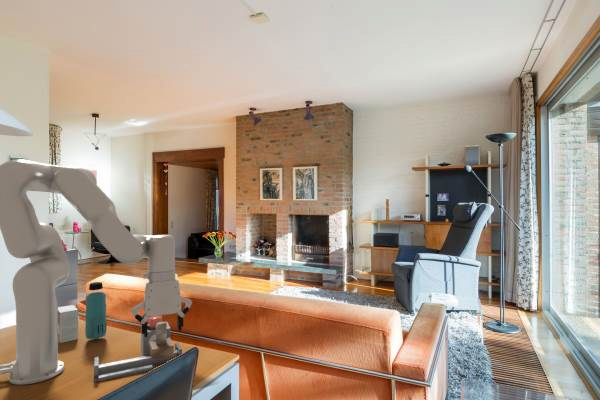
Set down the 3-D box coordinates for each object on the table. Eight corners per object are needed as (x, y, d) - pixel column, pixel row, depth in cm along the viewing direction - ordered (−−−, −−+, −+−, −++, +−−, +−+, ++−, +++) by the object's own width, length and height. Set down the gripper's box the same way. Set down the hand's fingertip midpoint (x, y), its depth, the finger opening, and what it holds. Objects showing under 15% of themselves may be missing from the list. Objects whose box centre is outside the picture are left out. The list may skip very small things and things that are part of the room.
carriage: (152, 359, 103) (152, 328, 103) (149, 350, 109) (149, 321, 109) (173, 355, 106) (173, 325, 106) (169, 347, 112) (169, 318, 112)
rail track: (94, 382, 96) (94, 367, 96) (94, 370, 103) (94, 356, 103) (182, 363, 107) (182, 350, 107) (177, 353, 114) (177, 341, 114)
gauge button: (149, 329, 113) (149, 320, 113) (148, 326, 116) (148, 316, 116) (163, 327, 115) (163, 318, 115) (161, 324, 118) (161, 314, 118)
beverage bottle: (97, 344, 121) (97, 285, 121) (80, 342, 122) (80, 284, 122) (110, 337, 127) (111, 281, 127) (94, 335, 129) (95, 280, 128)
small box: (55, 336, 127) (55, 307, 127) (73, 332, 131) (73, 304, 131) (59, 343, 122) (59, 312, 122) (78, 339, 125) (78, 309, 125)
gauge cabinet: (143, 359, 110) (143, 333, 110) (140, 350, 117) (141, 325, 117) (170, 353, 114) (170, 328, 114) (166, 345, 120) (166, 321, 120)
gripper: (131, 282, 100) (132, 342, 100) (194, 274, 109) (194, 331, 109) (129, 277, 107) (130, 334, 107) (188, 270, 115) (189, 323, 115)
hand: (162, 332), depth 108 cm, fingers open, 9 cm apart
